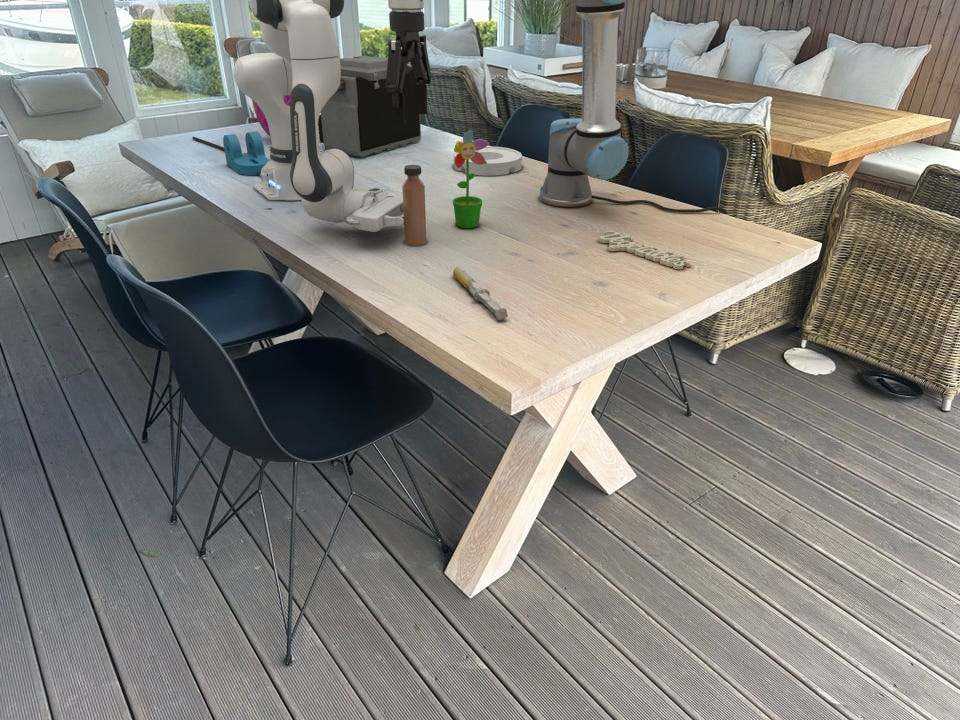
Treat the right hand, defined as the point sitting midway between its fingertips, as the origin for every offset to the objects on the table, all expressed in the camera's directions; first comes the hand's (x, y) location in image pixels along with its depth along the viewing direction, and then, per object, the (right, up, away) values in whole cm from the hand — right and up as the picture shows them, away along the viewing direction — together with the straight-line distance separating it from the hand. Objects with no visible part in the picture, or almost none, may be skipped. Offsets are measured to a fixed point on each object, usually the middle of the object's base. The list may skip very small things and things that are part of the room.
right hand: (410, 118), depth 157 cm
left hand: (-1, -20, +12) cm, 23 cm away
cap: (0, -10, +6) cm, 11 cm away
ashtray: (+18, +11, +77) cm, 80 cm away
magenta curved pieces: (-60, +29, +107) cm, 126 cm away
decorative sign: (+55, -29, +11) cm, 63 cm away
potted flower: (+13, -19, +26) cm, 35 cm away
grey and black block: (-25, +25, +101) cm, 107 cm away
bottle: (0, -26, +15) cm, 30 cm away
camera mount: (-61, +8, +72) cm, 94 cm away
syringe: (+16, -42, -12) cm, 47 cm away
